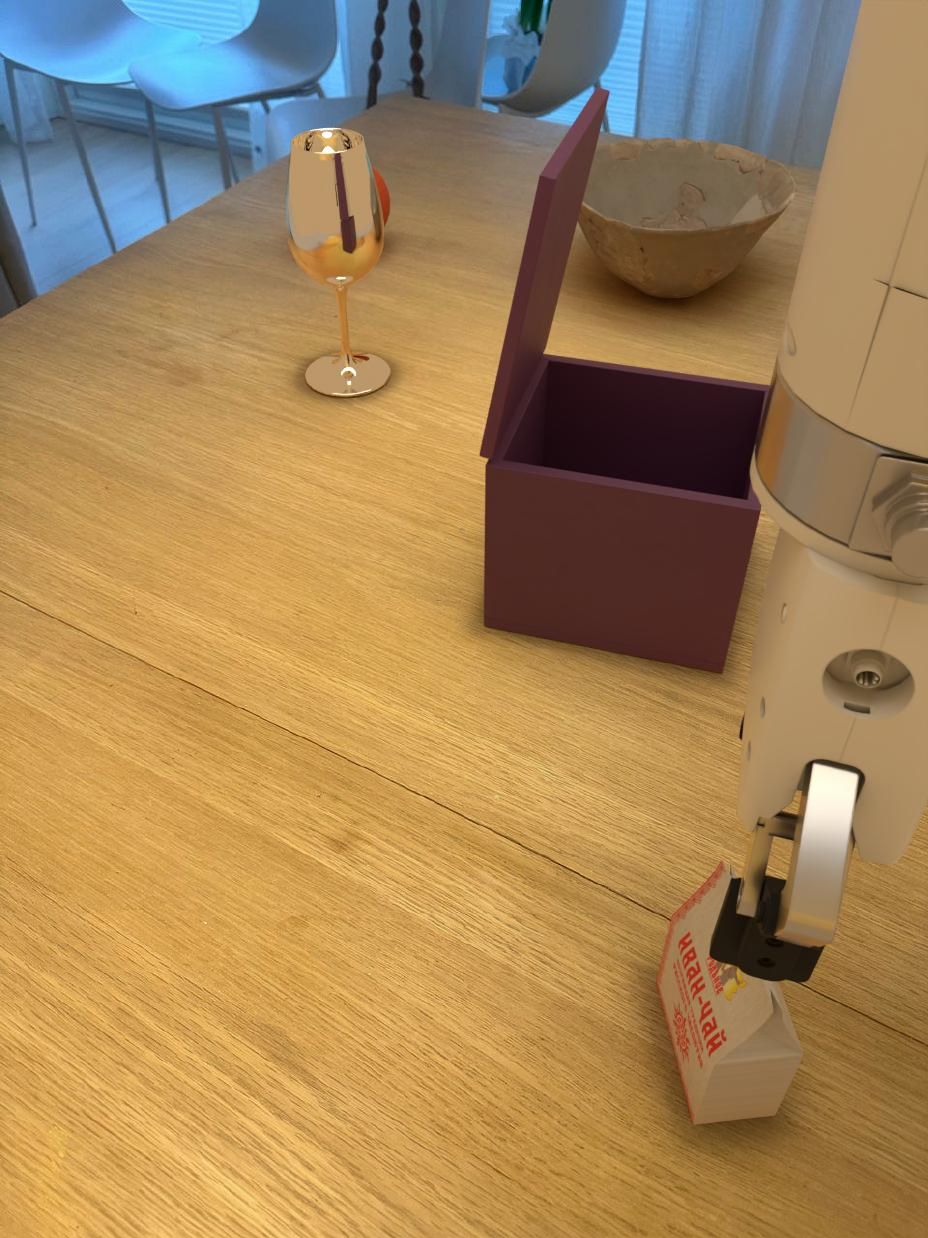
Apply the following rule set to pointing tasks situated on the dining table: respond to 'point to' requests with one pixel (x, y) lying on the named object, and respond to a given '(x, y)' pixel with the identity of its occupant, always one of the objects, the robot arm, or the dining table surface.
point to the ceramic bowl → (679, 211)
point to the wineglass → (336, 241)
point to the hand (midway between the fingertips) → (769, 845)
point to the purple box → (623, 510)
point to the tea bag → (723, 1019)
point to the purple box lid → (543, 266)
